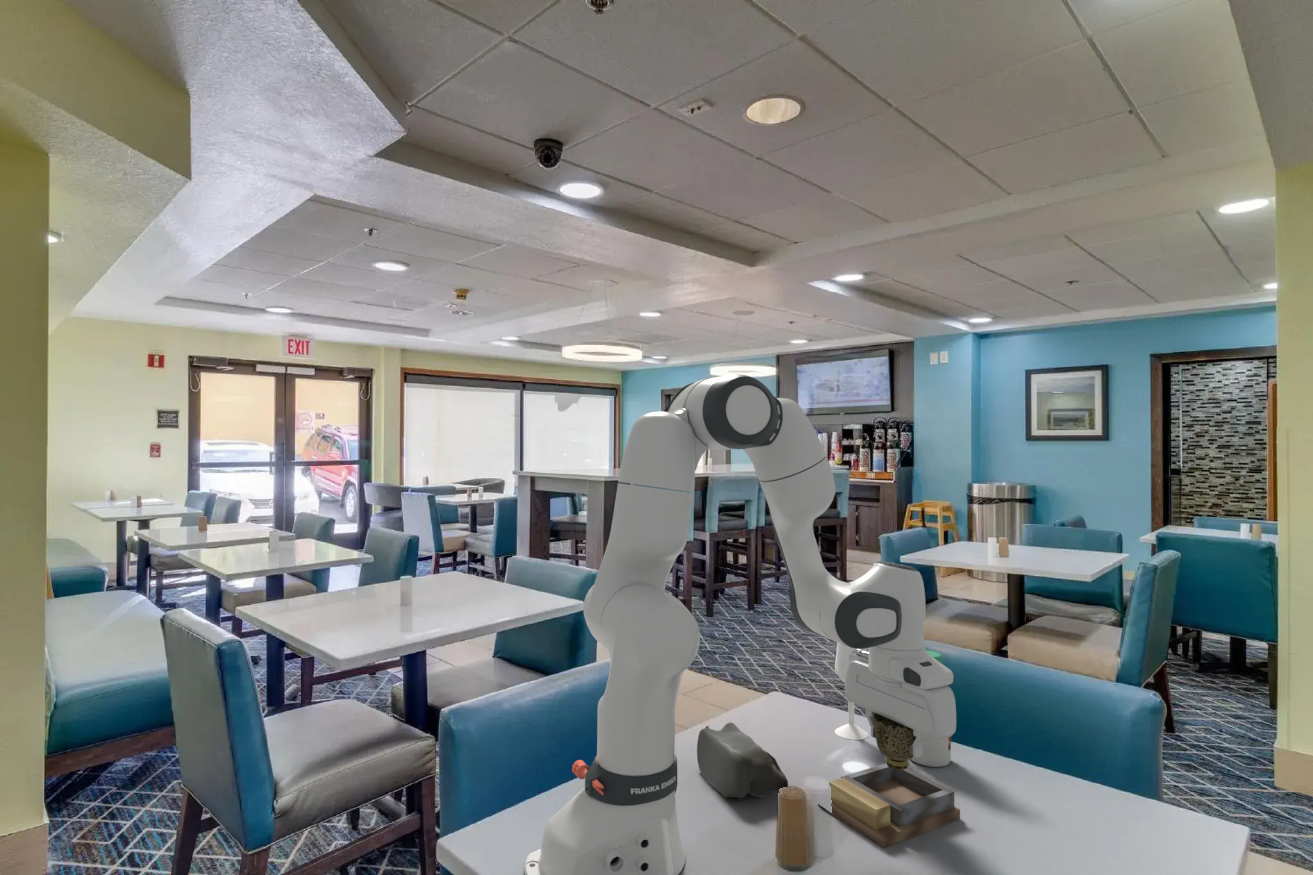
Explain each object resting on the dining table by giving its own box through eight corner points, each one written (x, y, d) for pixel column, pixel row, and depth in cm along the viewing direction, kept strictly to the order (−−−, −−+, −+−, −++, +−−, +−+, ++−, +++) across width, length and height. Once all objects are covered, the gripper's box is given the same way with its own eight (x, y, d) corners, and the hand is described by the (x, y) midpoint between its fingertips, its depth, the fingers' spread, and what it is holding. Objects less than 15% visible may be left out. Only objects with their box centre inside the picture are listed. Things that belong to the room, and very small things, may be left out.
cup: (924, 779, 109) (925, 727, 110) (875, 774, 111) (876, 723, 111) (916, 758, 117) (917, 710, 117) (871, 754, 118) (871, 706, 118)
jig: (884, 847, 103) (884, 816, 103) (818, 805, 115) (818, 777, 115) (959, 818, 111) (960, 790, 111) (890, 781, 123) (891, 756, 123)
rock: (798, 801, 116) (798, 753, 116) (738, 814, 112) (738, 764, 112) (744, 756, 133) (744, 714, 133) (690, 766, 129) (690, 723, 129)
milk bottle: (944, 772, 127) (944, 661, 127) (901, 760, 132) (901, 654, 132) (955, 757, 133) (955, 652, 133) (914, 747, 138) (914, 645, 138)
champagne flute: (828, 728, 147) (828, 613, 147) (856, 725, 149) (856, 611, 149) (846, 741, 140) (846, 621, 141) (875, 737, 142) (875, 619, 143)
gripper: (836, 647, 122) (836, 727, 122) (935, 682, 104) (934, 775, 104) (862, 643, 125) (862, 721, 125) (962, 675, 107) (962, 766, 107)
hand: (896, 746), depth 114 cm, fingers closed on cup, 6 cm apart
